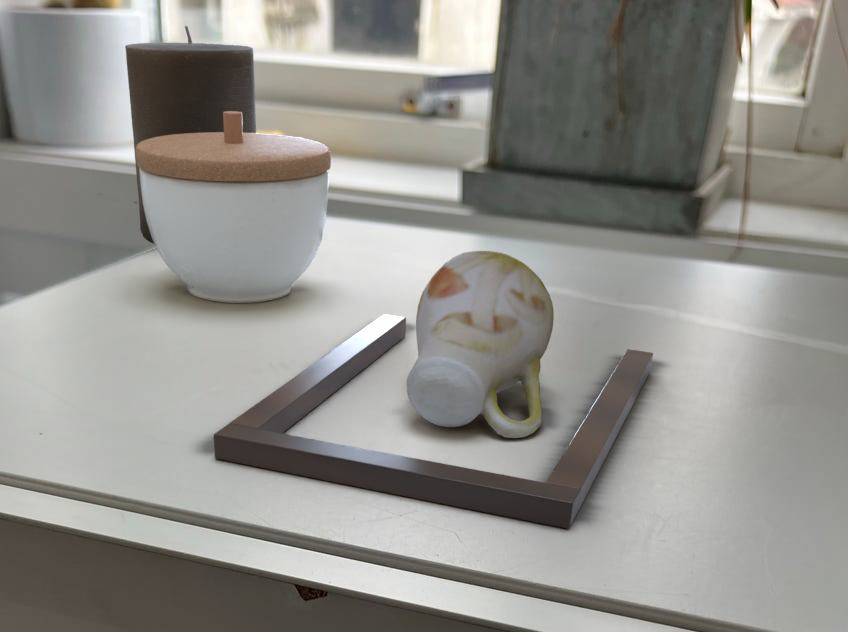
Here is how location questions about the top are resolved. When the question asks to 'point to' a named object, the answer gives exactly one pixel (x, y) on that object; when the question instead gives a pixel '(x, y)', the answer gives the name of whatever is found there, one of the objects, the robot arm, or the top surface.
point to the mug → (480, 341)
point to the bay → (468, 488)
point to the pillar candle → (187, 91)
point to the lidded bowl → (235, 208)
